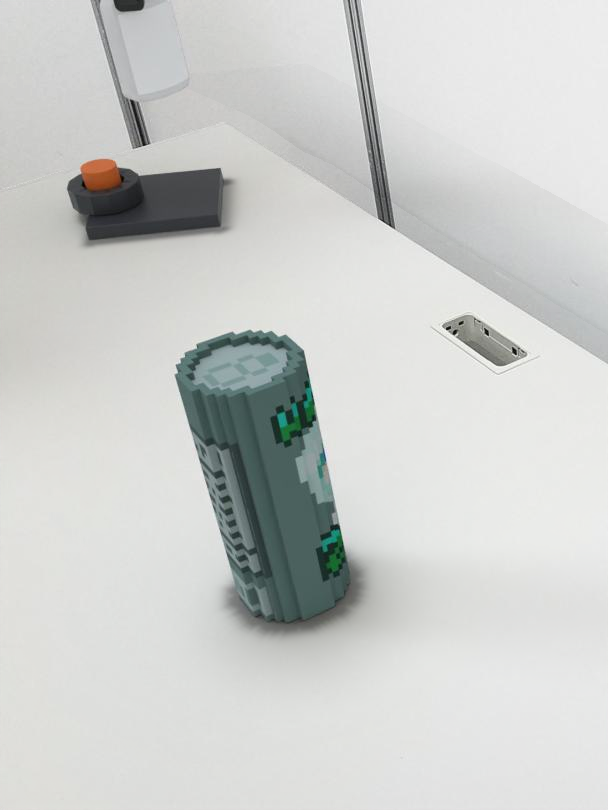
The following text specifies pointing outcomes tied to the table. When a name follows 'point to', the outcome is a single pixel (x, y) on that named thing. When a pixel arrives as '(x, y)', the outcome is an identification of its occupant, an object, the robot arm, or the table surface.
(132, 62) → the eye dropper bottle
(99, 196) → the dark grey base plate
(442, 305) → the table surface
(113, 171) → the button
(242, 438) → the can
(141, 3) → the robot arm
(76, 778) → the table surface
